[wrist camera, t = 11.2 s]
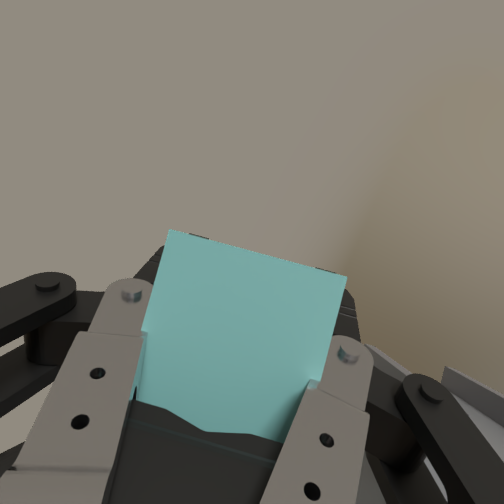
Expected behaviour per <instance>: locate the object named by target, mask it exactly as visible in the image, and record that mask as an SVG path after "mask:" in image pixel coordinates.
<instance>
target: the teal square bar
mask: <svg viewBox="0 0 504 504" xmlns="http://www.w3.org/2000/svg"><path fill="white" fill-rule="evenodd" d="M346 281H347V277H346V276H342V275H338V274H335V273H331V272H327V271H324V270H320V269H316V268H312V267H308V266H305V265H301V264H298V263H293V262H290V261H286V260H283V259H279V258H275V257H272V256H268V255H264V254H260V253H257V252H252V251H249V250H245V249H242V248H238V247H234V246H230V245H227V244H223V243H219V242H216V241H212V240H208V239H205V238H201V237H197V236H193V235H190V234H186V233H182V232H179V231H175V230H171V229H169V233H168V236H167V239H166V243H165V246H164V250H163V253H162V257H161V261H160V264H159V268H158V271H157V275H156V278H155V282H154V285H153V289H152V293H151V296H150V300H149V303H148V307H147V310H146V314H145V317H144V321H143V325H142V328H141V331H145V332H148V335H147V342H146V349H145V356H144V363H143V370H142V377H141V384H140V391H139V398H138V401H141V402H144V403H148V404H151V405H155V406H158V407H161V408H165V409H167V410H169V411H171V412H172V413H174V414H176V415H177V416H179V417H181V418H182V419H184V420H186V421H188V422H189V423H191V424H193V425H194V426H196V427H198V428H199V429H201V430H203V431H207V432H225V433H248V434H253V435H257V436H260V437H263V438H267V439H270V440H274V441H277V442H280V443H284V442H285V439H286V437H287V434H288V432H289V430H290V427H291V425H292V422H293V420H294V417H295V415H296V412H297V410H298V408H299V405H300V403H301V400H302V398H303V395H304V393H305V390H306V388H307V386H308V383H309V381H310V379H313V380H317V381H321V377H322V373H323V369H324V365H325V362H326V358H327V354H328V350H329V346H330V342H331V338H332V335H333V331H334V327H335V323H336V319H337V315H338V311H339V308H340V304H341V300H342V296H343V292H344V288H345V285H346Z"/></svg>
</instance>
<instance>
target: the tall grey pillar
mask: <svg viewBox="0 0 504 504" xmlns="http://www.w3.org/2000/svg"><path fill="white" fill-rule="evenodd" d="M364 346H365V347H366V348H367V349H368V350H369V351H370V353H371V354H372V357H373V360H374V366H375V367H376V368H378V369H379V370H381V371H382V372H384V373H386V374H388V375H390V376H392V377H394V378H396V379H397V380H399V381H401V382H402V381H403V380H404V378H405V377H406V376H407V375H409V374H412V373H411V372H409V371H408V370H406V369H405V368H404V367H403V366H401V365H400V364H398V363H397V362H395V361H394V360H393V359H391V358H390V357H389V356H387V355H386V354H384V353H383V352H382V351H380V350H379V349H377V348H376V347H375V346H371V345H367V344H364ZM441 384H442V385H443V386H444V387H446V388H447V389H448V390H449V391H450V393H451V394H452V395H453V396H454V397H455V399H456V400H457V401H458V403H459V404H460V405H461V407H462V408H463V409H464V411H465V412H466V413H467V415H468V416H469V417H470V419H471V420H472V421H473V423H474V424H475V425H476V426H477V428H478V429H479V430H480V432H481V433H482V434H483V436H484V437H485V438H486V440H487V441H488V442H489V444H490V445H491V446H492V448H493V449H494V450H495V452H496V453H497V454H498V455H499V457H500V458H501V459H502V461H503V462H504V395H503V394H501V393H499V392H497V391H496V390H494V389H491V388H490V387H488V386H486V385H484V384H482V383H480V382H479V381H477V380H475V379H473V378H471V377H469V376H467V375H466V374H464V373H462V372H460V371H458V370H456V369H453V368H450V367H446V366H445V368H444V372H443V376H442V380H441ZM424 462H425V464H426V466H427V467H428V469H429V471H430V473H431V474H432V476H433V478H434V480H435V482H436V483H437V485H438V487H439V489H440V490H441V492H442V494H443V496H444V497H445V499H446V501H447V502H448V500H447V494H446V490H445V488H444V486H443V484H442V482H441V480H440V478H439V477H438V475H437V473H436V472H435V470H434V468H433V466H432V465H431V463H430V461H429V460H428V458H427V457H426V459H425V460H424ZM355 504H386V502H385V499H384V497H383V495H382V493H381V490H380V488H379V486H378V483H377V481H376V479H375V477H374V474H373V472H372V470H371V467H370V465H369V463H368V460H367V458H366V454H365V450H364V456H363V462H362V468H361V473H360V479H359V485H358V491H357V497H356V503H355Z"/></svg>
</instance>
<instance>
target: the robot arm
mask: <svg viewBox="0 0 504 504" xmlns="http://www.w3.org/2000/svg"><path fill="white" fill-rule="evenodd" d="M190 235H193V236H197V237H201V238H205V237H202V236H198V235H194V234H190ZM205 239H208V240H209V238H205ZM164 246H165V245H164ZM164 246H162V247H160V248H159V250H158V251H157V252H156V253H155V255H154V256H152V257H151V258H150V260H149V261H148V262H147V263H146V264H145V265H144V266H143V267H142V268H141V269H140V271H139V272H138V273H137V274H136V275H135V276H134V277H133V278H127V279H121V280H118V281H115V282H113V283H112V284H110V285H109V286H108V288H107V289H106V291H105V292H93V291H76V282H75V280H74V279H73V278H72V277H71V276H69V275H66V274H63V273H58V272H44V273H39V274H34V275H32V276H29V277H26V278H24V279H22V280H19V281H16V282H14V283H12V284H9V285H7V286H4V287H1V288H0V347H2V346H4V345H6V344H7V343H9V342H11V341H13V340H15V339H17V338H19V337H21V336H23V335H24V342H25V343H24V344H23V345H21V346H19V347H17V348H16V349H14V350H12V351H10V352H8V353H6V354H4V355H3V356H1V357H0V418H1V417H2V416H4V415H5V414H7V413H8V412H10V411H11V410H13V409H14V408H15V407H17V406H18V405H20V404H21V403H23V402H24V401H26V400H27V399H29V398H30V397H32V396H33V395H35V394H36V393H37V392H39V391H40V390H42V389H43V388H45V387H46V386H48V385H49V384H51V383H52V382H54V383H53V385H52V387H51V389H50V391H49V393H48V395H47V397H46V399H45V401H44V403H43V406H42V408H41V410H40V412H39V414H38V416H37V418H36V420H35V422H34V425H33V426H32V429H31V430H30V432H29V435H28V437H27V439H26V441H25V442H23V443H21V444H19V445H17V446H15V447H13V448H11V449H9V450H7V451H5V452H3V453H1V454H0V504H355V503H356V497H357V491H358V485H359V479H360V473H361V468H362V462H363V456H364V450H365V454H366V458H367V460H368V463H369V465H370V467H371V470H372V472H373V474H374V477H375V479H376V481H377V483H378V486H379V488H380V490H381V493H382V495H383V497H384V499H385V502H386V504H504V462H503V461H502V459H501V458H500V457H499V455H498V454H497V453H496V452H495V450H494V449H493V448H492V446H491V445H490V444H489V442H488V441H487V440H486V438H485V437H484V436H483V434H482V433H481V432H480V430H479V429H478V428H477V426H476V425H475V424H474V423H473V421H472V420H471V419H470V417H469V416H468V415H467V413H466V412H465V411H464V409H463V408H462V407H461V405H460V404H459V403H458V401H457V400H456V399H455V397H454V396H453V395H452V394H451V393H450V391H449V390H448V389H447V388H446V387H444V386H443V385H442V384H440V383H439V382H438V381H436V380H434V379H432V378H430V377H428V376H425V375H421V374H409V375H407V376H406V377H405V378H404V380H403V381H402V382H401V381H399V380H397V379H396V378H394V377H392V376H390V375H388V374H386V373H384V372H382V371H381V370H379V369H378V368H376V367H375V366H374V360H373V357H372V354H371V353H370V351H369V350H368V349H367V348H366V347H365V346H364V345H362V344H361V340H360V334H359V328H358V322H357V318H356V311H355V303H354V299H353V298H352V296H351V295H350V293H349V292H348V291H347V290H346V289H344V292H343V296H342V300H341V304H340V308H339V311H338V315H337V319H336V323H335V327H334V331H333V335H332V338H331V342H330V346H329V350H328V354H327V358H326V362H325V365H324V369H323V373H322V377H321V381H317V380H313V379H310V381H309V383H308V386H307V388H306V390H305V393H304V395H303V398H302V400H301V403H300V405H299V408H298V410H297V412H296V415H295V417H294V420H293V422H292V425H291V427H290V430H289V432H288V434H287V437H286V439H285V442H284V443H280V442H277V441H274V440H270V439H267V438H263V437H260V436H257V435H253V434H248V433H225V432H207V431H203V430H201V429H199V428H198V427H196V426H194V425H193V424H191V423H189V422H188V421H186V420H184V419H182V418H181V417H179V416H177V415H176V414H174V413H172V412H171V411H169V410H167V409H165V408H161V407H158V406H155V405H151V404H148V403H144V402H141V401H138V398H139V391H140V384H141V377H142V370H143V363H144V356H145V349H146V342H147V335H148V332H145V331H141V328H142V325H143V321H144V317H145V314H146V310H147V307H148V303H149V300H150V296H151V293H152V289H153V285H154V282H155V278H156V275H157V271H158V268H159V264H160V261H161V257H162V253H163V250H164ZM316 269H320V268H316ZM320 270H323V269H320ZM324 271H327V270H324ZM327 272H331V271H327ZM331 273H335V272H331ZM335 274H336V273H335ZM426 457H427V458H428V460H429V461H430V463H431V465H432V466H433V468H434V470H435V472H436V473H437V475H438V477H439V478H440V480H441V482H442V484H443V486H444V488H445V490H446V494H447V500H448V502H447V501H446V499H445V497H444V496H443V494H442V492H441V490H440V489H439V487H438V485H437V483H436V482H435V480H434V478H433V476H432V474H431V473H430V471H429V469H428V467H427V466H426V464H425V462H424V460H425V459H426Z"/></svg>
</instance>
